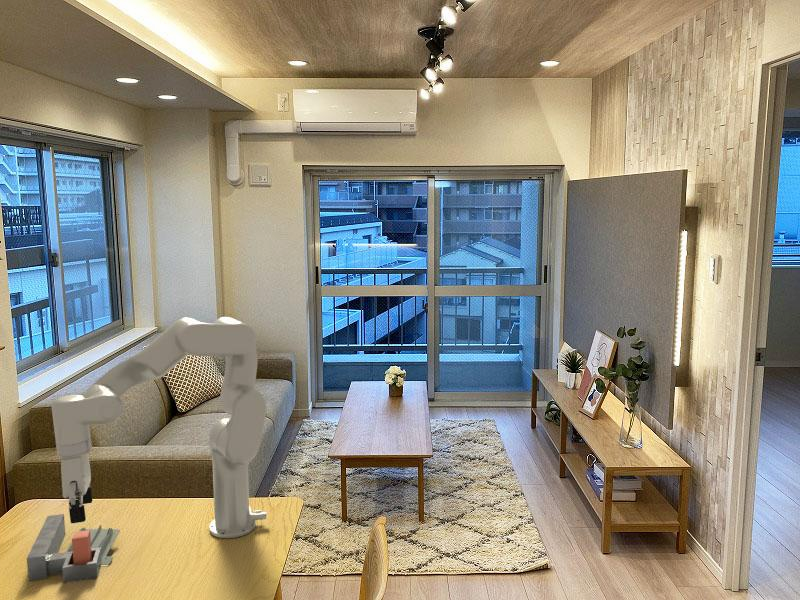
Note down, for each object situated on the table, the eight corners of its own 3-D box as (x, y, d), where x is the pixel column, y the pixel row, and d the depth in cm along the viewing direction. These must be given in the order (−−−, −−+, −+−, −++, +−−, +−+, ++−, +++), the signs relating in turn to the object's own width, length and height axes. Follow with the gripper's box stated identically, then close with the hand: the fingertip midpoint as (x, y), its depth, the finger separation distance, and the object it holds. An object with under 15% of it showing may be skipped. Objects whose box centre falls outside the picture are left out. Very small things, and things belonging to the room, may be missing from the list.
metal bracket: (72, 521, 175) (127, 522, 175) (77, 537, 177) (131, 538, 177) (45, 563, 162) (104, 564, 162) (50, 580, 164) (109, 581, 164)
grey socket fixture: (111, 528, 182) (110, 508, 181) (97, 578, 158) (95, 555, 157) (49, 536, 178) (47, 515, 177) (25, 588, 154) (23, 565, 153)
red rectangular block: (92, 566, 163) (90, 529, 162) (90, 574, 160) (87, 536, 158) (77, 569, 162) (74, 531, 161) (74, 576, 159) (71, 538, 157)
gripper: (64, 435, 163) (72, 499, 166) (48, 463, 147) (57, 532, 150) (96, 431, 165) (103, 494, 168) (85, 458, 149) (92, 527, 152)
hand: (82, 512), depth 159 cm, fingers open, 9 cm apart
